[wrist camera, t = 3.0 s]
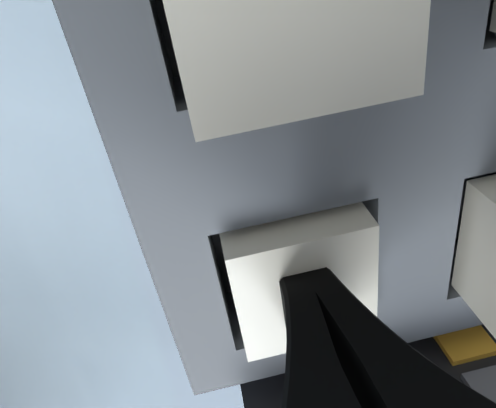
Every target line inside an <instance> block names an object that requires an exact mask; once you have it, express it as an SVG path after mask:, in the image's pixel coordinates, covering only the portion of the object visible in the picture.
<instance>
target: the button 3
mask: <svg viewBox="0 0 496 408" xmlns="http://www.w3.org/2000/svg"><path fill="white" fill-rule="evenodd" d="M451 285H452V286H453V288H454V289H455V290H456V291H457V292H458V294H459V295H460V296H461V297H462V299H463V300H464V301H465V302H466V304H467V305H468V306H469V307H470V308H471V310H472V311H473V312H474V313H475V315H476V316H477V317H478V318H479V319H480V321H481V322H482V323H483V324H484V326H485V327H486V328H487V329H488V331H489V332H490V333H491V334H492V335H493V337H494V338H495V339H496V174H494V175H490V176H485V177H481V178H477V179H472V180H468V181H467V184H466V190H465V197H464V204H463V210H462V217H461V224H460V230H459V237H458V244H457V250H456V257H455V264H454V271H453V277H452V284H451Z"/></svg>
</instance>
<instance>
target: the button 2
mask: <svg viewBox="0 0 496 408" xmlns="http://www.w3.org/2000/svg"><path fill="white" fill-rule="evenodd" d="M219 235H220V240H221V245H222V250H223V255H224V260H225V264H226V269H227V273H228V277H229V282H230V286H231V290H232V295H233V299H234V303H235V308H236V312H237V316H238V321H239V325H240V329H241V334H242V338H243V342H244V347H245V351H246V356H247V360H248V362H251V361H255V360H259V359H264V358H268V357H272V356H276V355H280V354H284V353H286V343H287V339H286V326H285V319H284V312H283V305H282V298H281V292H280V285H279V281H280V280H281V279H282V278H283V277H286V276H291V275H295V274H299V273H304V272H308V271H312V270H316V269H321V268H325V267H327V268H328V269H330V270H331V271H332V272H333V273H334V274H335V276H336V277H337V278H338V279H339V280H340V281H341V282H342V283H343V284H344V285H345V286H346V287H347V288H348V289H349V291H350V292H351V293H352V294H353V295H354V296H355V297H356V298H357V299H358V300H359V301H360V302H362V303H363V304H364V305H365V306H366V307H367V308H368V309H369V310H370V311H371V312H372V313H373V314H374V315H375V316H377V307H378V265H379V224H378V223H377V222H376V220H375V219H374V218H373V216H372V215H371V214H370V212H369V211H368V210H367V208H366V207H365V205H364V204H363V203H362V202H358V203H353V204H349V205H344V206H340V207H335V208H331V209H326V210H322V211H317V212H313V213H308V214H304V215H300V216H295V217H291V218H286V219H282V220H277V221H273V222H268V223H264V224H259V225H255V226H250V227H246V228H241V229H237V230H232V231H228V232H223V233H219Z"/></svg>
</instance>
